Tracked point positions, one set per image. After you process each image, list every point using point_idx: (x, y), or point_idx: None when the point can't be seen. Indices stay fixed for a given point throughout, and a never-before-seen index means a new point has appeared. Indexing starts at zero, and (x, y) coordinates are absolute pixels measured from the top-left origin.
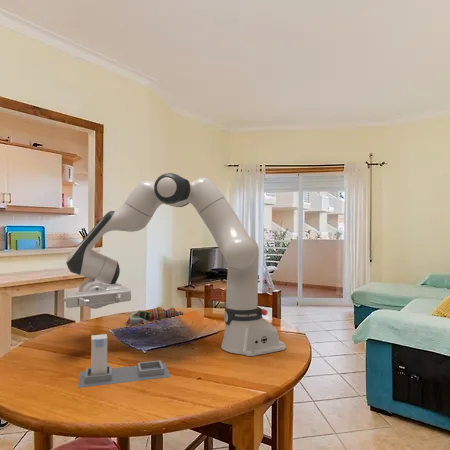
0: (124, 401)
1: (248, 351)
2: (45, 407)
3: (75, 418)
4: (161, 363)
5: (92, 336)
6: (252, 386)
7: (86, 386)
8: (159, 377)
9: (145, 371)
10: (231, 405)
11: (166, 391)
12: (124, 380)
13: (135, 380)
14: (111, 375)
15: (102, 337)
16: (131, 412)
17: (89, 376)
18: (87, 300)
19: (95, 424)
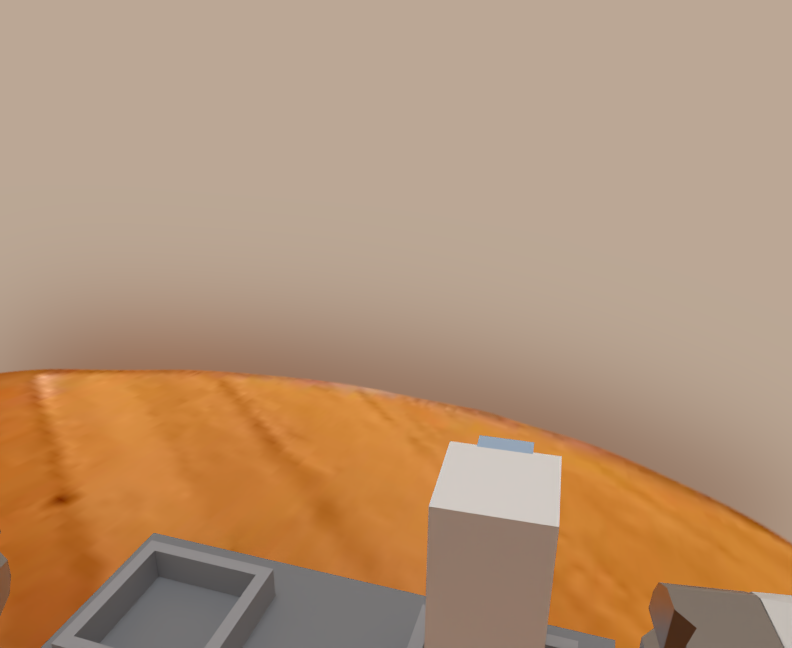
0: (427, 485)
1: None
2: (739, 569)
3: (603, 471)
4: (95, 600)
5: (551, 503)
6: (20, 400)
7: (565, 631)
8: (198, 550)
9: (242, 565)
10: (180, 372)
11: (257, 477)
12: (360, 599)
13: (313, 573)
14: (423, 608)
15: (479, 461)
16: (430, 435)
17: (550, 639)
18: (703, 592)
19: (543, 431)
